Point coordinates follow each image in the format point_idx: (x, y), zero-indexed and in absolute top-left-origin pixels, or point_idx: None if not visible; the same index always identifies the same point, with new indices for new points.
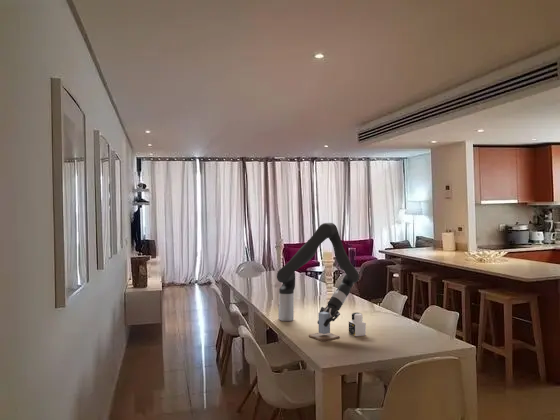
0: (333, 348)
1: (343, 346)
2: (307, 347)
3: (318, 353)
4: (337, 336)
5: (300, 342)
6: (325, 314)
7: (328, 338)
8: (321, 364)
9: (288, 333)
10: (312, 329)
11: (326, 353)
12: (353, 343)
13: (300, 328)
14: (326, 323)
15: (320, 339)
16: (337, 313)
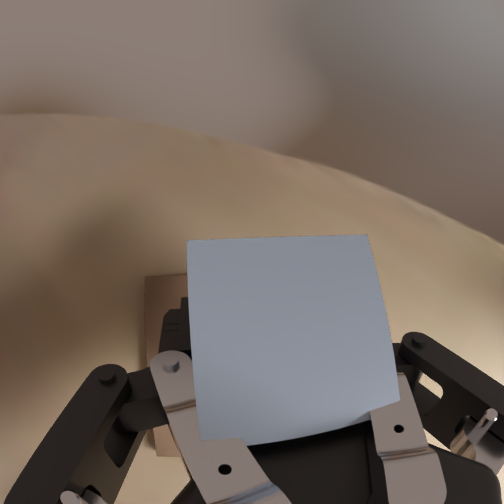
0: (28, 245)
1: (12, 320)
2: (136, 147)
3: (48, 148)
4: (155, 435)
5: (230, 162)
6: (188, 294)
7: (151, 336)
8: (3, 117)
9: (412, 213)
10: (437, 388)
11: (23, 174)
12: (18, 418)
13: (471, 326)
14: (164, 319)
15: (179, 276)
16: (29, 493)
